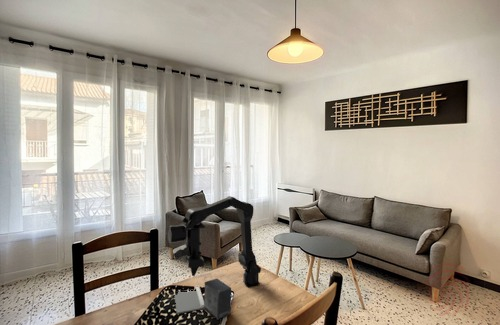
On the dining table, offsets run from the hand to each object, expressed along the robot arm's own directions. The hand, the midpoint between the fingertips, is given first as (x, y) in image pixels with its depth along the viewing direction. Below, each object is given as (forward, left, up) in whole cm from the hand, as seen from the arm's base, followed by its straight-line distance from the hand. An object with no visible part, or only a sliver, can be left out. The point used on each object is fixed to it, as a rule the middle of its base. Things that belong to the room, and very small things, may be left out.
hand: (193, 275), depth 111 cm
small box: (-8, +11, -11) cm, 17 cm away
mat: (+2, 0, -11) cm, 11 cm away
